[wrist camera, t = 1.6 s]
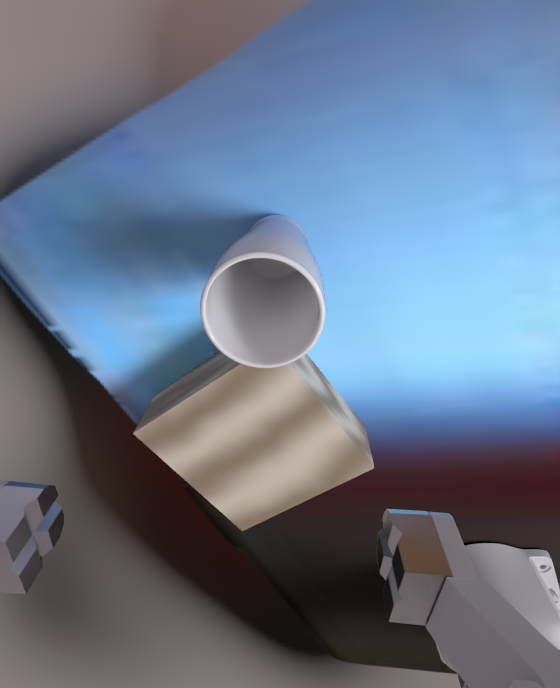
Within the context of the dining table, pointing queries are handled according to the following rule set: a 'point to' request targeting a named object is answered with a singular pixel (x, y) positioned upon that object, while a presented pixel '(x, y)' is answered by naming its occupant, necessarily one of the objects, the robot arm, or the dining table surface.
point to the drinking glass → (265, 296)
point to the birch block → (256, 436)
